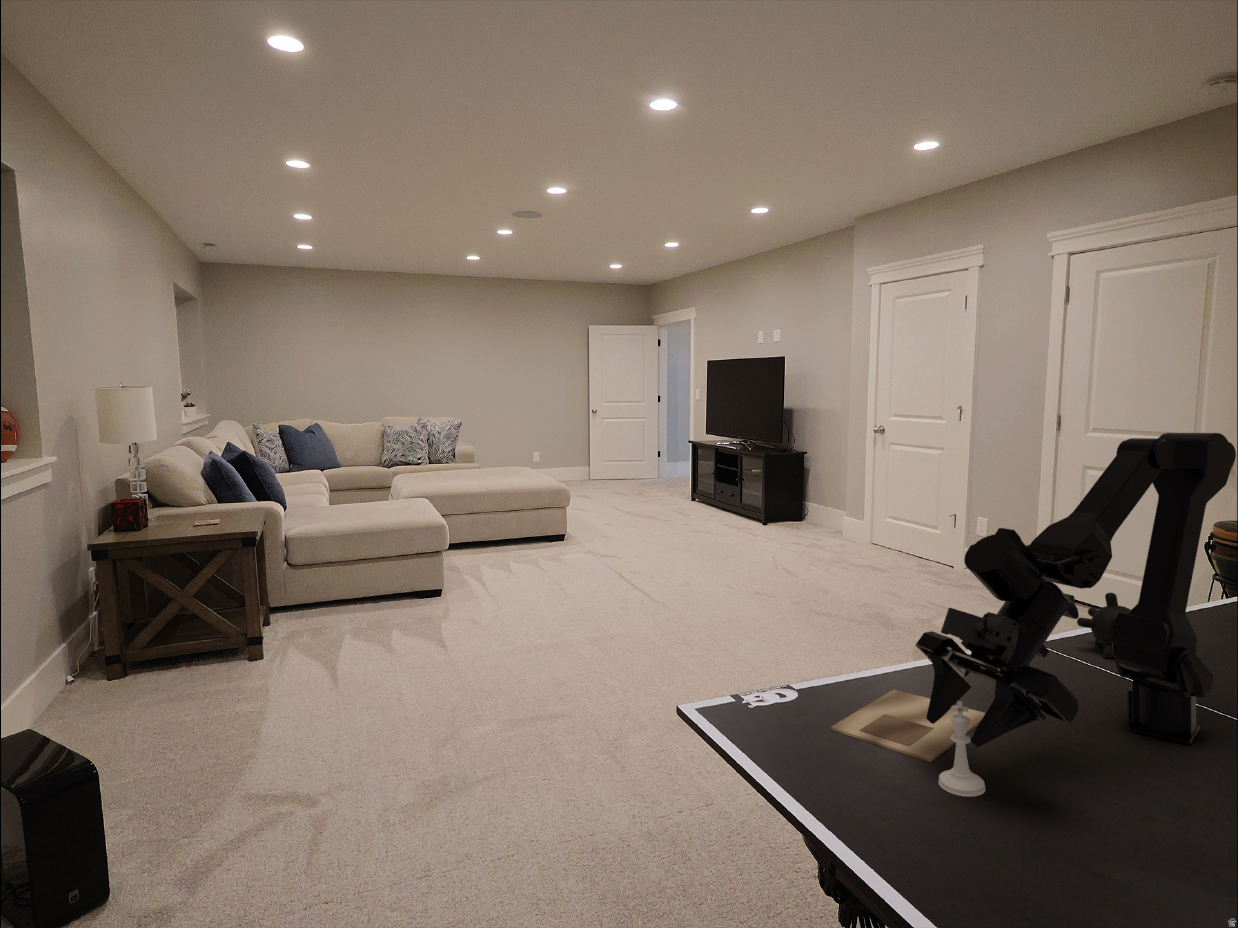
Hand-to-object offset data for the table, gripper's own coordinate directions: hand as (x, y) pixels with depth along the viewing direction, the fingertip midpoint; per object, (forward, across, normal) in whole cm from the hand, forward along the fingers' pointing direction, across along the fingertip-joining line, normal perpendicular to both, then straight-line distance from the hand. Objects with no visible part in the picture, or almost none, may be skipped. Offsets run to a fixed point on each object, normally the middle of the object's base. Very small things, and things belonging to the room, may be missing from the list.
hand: (950, 732), depth 82 cm
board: (-1, -16, +10) cm, 19 cm away
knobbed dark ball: (-36, -23, +46) cm, 63 cm away
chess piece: (+4, 0, +6) cm, 7 cm away
